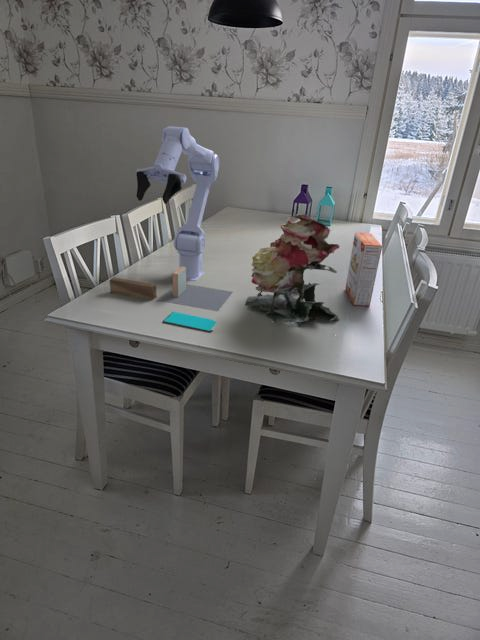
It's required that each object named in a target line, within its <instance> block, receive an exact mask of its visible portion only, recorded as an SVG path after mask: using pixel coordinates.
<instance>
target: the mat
mask: <svg viewBox="0 0 480 640" xmlns="http://www.w3.org/2000/svg"><path fill="white" fill-rule="evenodd" d="M233 293H234V291H231V290H230V291H229V290H224V289H220V288H218V289H217V288H213V287H206V286H200V285H193V284H190V283H189V284H188V283H186V290H185V291H184V292H183V293H182V294H181V295H180V296H179V297H173V287H171V288H170V289H169V290H168V291H166V293H164V294H163V295H162V296H161V297H160V298H158V300H157V301H160V302H165V303H169V304H170V303H171V304H176V305H181V306H187V307H192V308H197V309H198V308H199V309H204V310H210V311H214V312H219V311H220V309H221V308H222V307H223V305H224V304H225V303H226V302H227V300H228V299H229V297H231V295H232V294H233Z"/></svg>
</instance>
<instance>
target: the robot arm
mask: <svg viewBox="0 0 480 640" xmlns="http://www.w3.org/2000/svg"><path fill="white" fill-rule="evenodd" d="M196 141H197V140H196V139H195V138H194V137H193V136H192V135H191V133H190V131H189V128H188V127H182V126H169V125H168V126H167V127H165V128H163V131H162V139H161V141H160V146H161V147H160V149H159V152H158V154H157V156H156V159H155V161H154V164H153V166H149V167H144V168H136V171H135V173H134V174H135V177H136V181H137V182H136V183H137V189H136V191H137V192H136V196H135V197H136V198H137V200H138V201H139V202H141V201H142V200H143V199H144V196H145V194H146V192H147V190H148V189H149V188H150V187H151V182H150V181H149V179H150V180H152V181H156V182H159V183H161V184H165V185H166V187H165V189H164V191H163V195H162V198H161V199H162V201H163V204H165V205H166V204H168V203H169V201H170V200H171V199H172V198H173V197H174V196H175V194H177V193H178V192H180V191H182V185H183V184H186V181H187V179H188V177H187V175H186V173H182V172H179V171H175V170H176V168H177V164H178V162H179V159H180V157H181V154H183V155H186V156H188V158H187V165H188V170H189V173H190V177H191V179H192V180H193V181H194V182H195V183H196V186H195V188H194V193H193V196H192V201H191V205H190V208H189V212H188V216H187V220H186V223H185V224H184V225H181V226H180V227H178V230H177V233H176V234H175V236H174V238H173V247H174V249H175V251H177V254H178V255H179V256H178V257H179V261H178V263H179V267H178V269H179V268H180V267H181V266H183V267H186V281H192V282H195V281H198V279H200V278H201V277H202V276H203V275H204V274H205V271H203V261H204V260H203V254H202V253H203V252H204V250H205V248H206V237H207V236H206V233H205V231H204V230H203V229H202V228H201V225H202V221H203V217H204V213H205V208H206V205H207V200H208V196H209V192H210V189H211V185H212V184H213V183H215V182H216V180H217V177H218V173H219V169H220V158H219V155H218V154H217V153H215V152H214V151H213V150H211V149H208V148H206V147H204V146H202V145H200V144H198V143H197V142H196Z"/></svg>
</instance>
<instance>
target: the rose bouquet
mask: <svg viewBox="0 0 480 640" xmlns="http://www.w3.org/2000/svg"><path fill="white" fill-rule="evenodd" d="M284 221H285V223H281V224H280V229H281V230H282V232H283V233H282V234H281V235H280V237H279V238H277V239H275V241H273V242H270V244H269V245H270V247H269V246H268V247H262V248H260V249H258V251H257V253H255V254H254V256H252V263H251V266H252V267H253V268H252V269H251V271H252V274H251V277H252V278H251V283H252V284H254V285H256V286H255V290H257V291H258V294H257V295H252V296H248V297H247V298H246V299H245V303H244V306H245V307H246V308H247V309H248V310H250V311H252V312H254V313H258V314H260V315H262V316H265V317H267V318H268V319H270V320H271V321H272V323H275V324H276V323H277V322H278V321H280V322H283V324H286V325H287V326H291V327H295V328H296V327H299V326H300V325H301V323H302V322H303V323H304V322H309V321H315V320H316V319H315V317H312V316H309V314H310V310H311V309H316V310H317V309H318V310H319V311H320V310H321V311H323V312H325V313H326V314H328V315H330V316H333V318H331V319H329V321H336V320H338V321H340V318H339V316H338V315H337V314H336V313H334V312H332V310H330V308H329V307H326V306H324V304H325V302H323V301H316V299H315V298H316V294H315V291H316V286H318V285H320V283H315V282H313V283H311V282H308V284H307V283H306V284H305V280H304V273H305V271H307V270H319V271H328V272H331V273H334V274H336V273H338V270H336V269H335V268H334V267H331V266H329V265H326V264H322V262H323V261H324V260H326V259H327V258H328V257H329V255H331V254H334V253H335V251H336V250H338V249H340V244H338V243H336V244H335V243H334V244H333V243H328V242H327V240H326V239H327V238H329V236H330V233H331V229H330V228H329V227H328V226H327V225H325V224H324V223H323V222H321V221H317V220H316V219H315V218H312V217H311V214H308V215H307V214H304V213H303V214H302V213H296V214H295V215H290V216H289V217H288V218H286V219H285V220H284ZM263 292H264V293H272V294H265V295H263ZM285 304H286V306H287V307H288V308H289V309H288V308H286V307H285Z"/></svg>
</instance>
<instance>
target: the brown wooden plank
mask: <svg viewBox="0 0 480 640" xmlns="http://www.w3.org/2000/svg"><path fill="white" fill-rule="evenodd" d="M109 290H110V294H116V295H117V294H118V295H123V296H127V297H134V298H140V299H146V300H151V301H154V300H155V299H156V298H157V284H156V283H151V282H144V281H139V280H133V279H128V278H127V279H126V278H120V277H115V276H114V277H112V278H110V279H109Z"/></svg>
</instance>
